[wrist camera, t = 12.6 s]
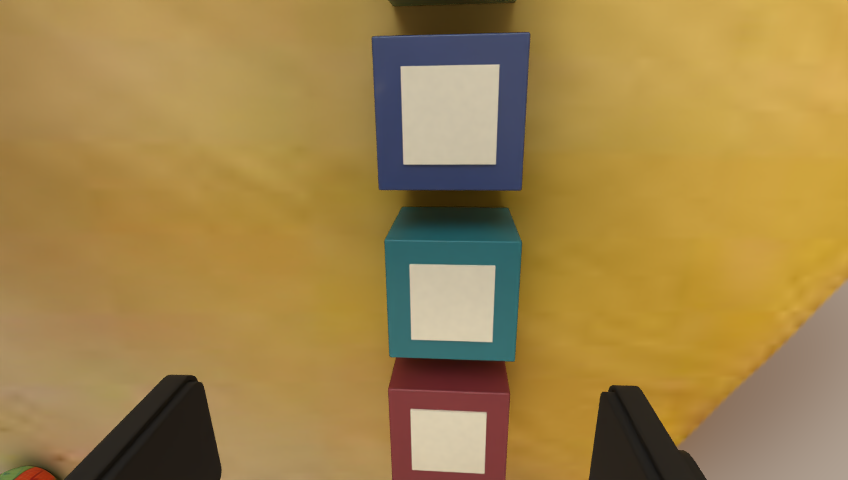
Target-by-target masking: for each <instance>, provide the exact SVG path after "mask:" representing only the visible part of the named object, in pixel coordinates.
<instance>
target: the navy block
mask: <svg viewBox="0 0 848 480" xmlns="http://www.w3.org/2000/svg"><path fill="white" fill-rule="evenodd" d="M529 49H530V33H529V32H517V33H477V34H438V35H398V36H373V37H372V55H373V77H374V98H375V119H376V141H377V162H378V184H379V190H513V191H520V190H521V189H522V174H523V156H524V138H525V121H526V103H527V85H528V67H529Z"/></svg>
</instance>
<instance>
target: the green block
mask: <svg viewBox="0 0 848 480" xmlns="http://www.w3.org/2000/svg"><path fill="white" fill-rule="evenodd" d="M515 1H516V0H389V2H390V3H391V4H392V5H393V6H416V5H448V4H481V3H513V2H515Z"/></svg>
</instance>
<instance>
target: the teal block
mask: <svg viewBox="0 0 848 480" xmlns="http://www.w3.org/2000/svg"><path fill="white" fill-rule="evenodd" d="M384 242H385V266H386V289H387V312H388V335H389V356H390V357H400V358H429V359H457V360H486V361H515V352H516V336H517V319H518V302H519V286H520V269H521V252H522V241H521V239H520V236H519V234H518V231H517V229H516V226H515V224H514V221H513V219H512V216H511V214H510V211H509V209H508V208H481V207H402V208H401V210H400V212H399V214H398V216H397V217H396V219H395V221H394V223H393V225H392V227H391V229H390V231H389V233H388V235H387V237H386V239H385V241H384Z"/></svg>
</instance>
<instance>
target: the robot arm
mask: <svg viewBox="0 0 848 480" xmlns="http://www.w3.org/2000/svg"><path fill="white" fill-rule="evenodd" d="M221 471H222V469H221V463H220V459H219V454H218V449H217V445H216V440H215V436H214V431H213V426H212V422H211V417H210V413H209V408H208V403H207V399H206V394H205V390H204V386H203V384H202V383H201V382H198V380H197V378H196V377H195V376H192V375H168V376H166V377H165V378H163V379H162V380H161V381H160V382H159V383H158V384H157V385H156V386H155V387H154V389H153V390H152V391H151V392H150V393H149V394H148V395H147V396H146V397H145V398H144V399H143V400H142V401H141V402H140V403H139V404H138V405H137V406H136V407H135V408H134V409H133V410H132V411H131V412H130V413H129V414H128V415H127V416H126V417H125V418H124V419H123V420H122V421H121V422H120V423H119V424H118V425H117V426H116V427H115V428H114V429H113V430H112V431H111V432H110V433H109V434H108V435H107V436H106V437H105V438H104V439H103V440H102V441H101V442H100V443H99V444H98V445H97V446H96V447H95V448H94V449H93V451H92V452H91V453H90V454H89V455H88V456H87V457H86V458H85V459H84V460H83V461H82V462H81V463H80V464H79V465H78V466H77V467H76V468H75V469H74V470H73V471H72V472H71V473H70V474H69V475H68V476H67V477H66V478H65V479H64V480H220V478H221ZM589 480H707V479H706V478H705V476H704V475H703V473H702V472H701V470H700V468H699V467H698V465H697V464H696V462H695V461H694V460H693V458H692V457H691V456H690V454H689V453H687V452H686V451H684V450H678V449H677V447H676V446H675V444H674V442H673V441H672V439H671V437H670V436H669V434H668V433H667V431H666V429H665V428H664V426H663V424H662V423H661V421H660V420H659V418H658V416H657V415H656V413H655V411H654V410H653V408H652V407H651V405H650V403H649V402H648V400H647V399H646V397H645V395H644V394H643V392H642V390H641V389H640V388H639V387H638V386H618V385H612V386H610V388H609V390H608V392H602V393H601V396H600V403H599V410H598V417H597V425H596V432H595V439H594V446H593V454H592V461H591V468H590V475H589Z"/></svg>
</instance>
